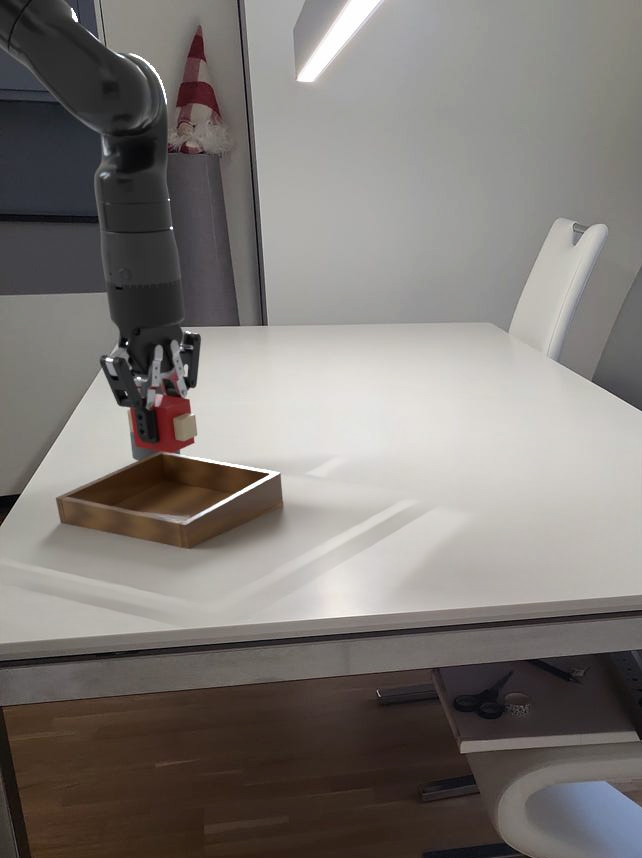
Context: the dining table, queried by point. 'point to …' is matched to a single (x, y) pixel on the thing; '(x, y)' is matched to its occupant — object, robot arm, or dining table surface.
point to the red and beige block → (169, 424)
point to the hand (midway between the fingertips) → (163, 435)
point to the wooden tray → (172, 499)
